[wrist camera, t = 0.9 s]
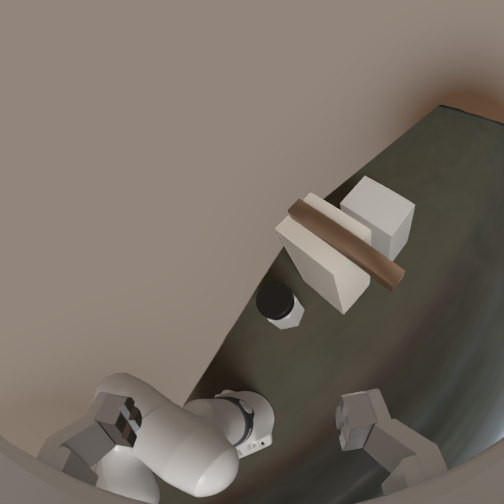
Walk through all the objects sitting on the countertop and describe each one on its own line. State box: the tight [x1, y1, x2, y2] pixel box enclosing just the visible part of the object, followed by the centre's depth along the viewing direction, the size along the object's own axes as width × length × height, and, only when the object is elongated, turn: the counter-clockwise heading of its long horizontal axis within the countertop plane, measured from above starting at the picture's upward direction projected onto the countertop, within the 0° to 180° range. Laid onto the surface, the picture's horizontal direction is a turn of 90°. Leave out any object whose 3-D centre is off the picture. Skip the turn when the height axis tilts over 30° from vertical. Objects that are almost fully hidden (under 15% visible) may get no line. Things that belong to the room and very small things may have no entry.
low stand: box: [340, 176, 415, 261], centre depth 60 cm, size 10×14×16 cm
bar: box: [288, 199, 405, 292], centre depth 41 cm, size 3×22×2 cm, turn 42°
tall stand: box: [275, 193, 371, 315], centre depth 56 cm, size 10×14×26 cm
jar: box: [256, 282, 305, 329], centre depth 63 cm, size 9×8×12 cm
